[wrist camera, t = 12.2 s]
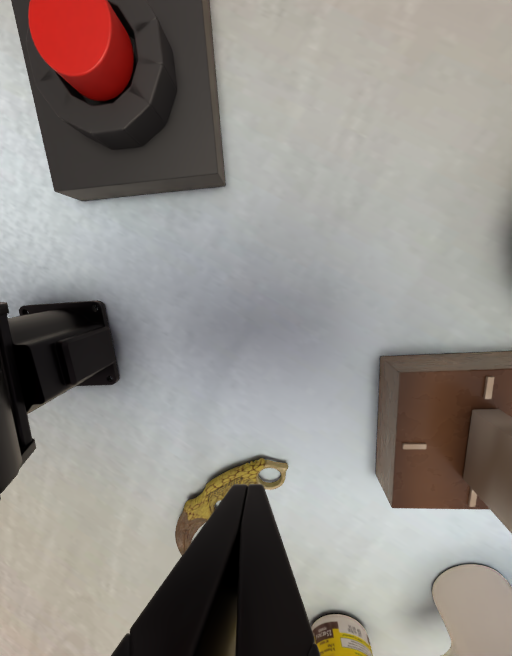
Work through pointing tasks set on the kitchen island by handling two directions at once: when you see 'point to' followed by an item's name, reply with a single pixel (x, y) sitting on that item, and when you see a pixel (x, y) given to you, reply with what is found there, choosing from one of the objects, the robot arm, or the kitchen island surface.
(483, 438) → the dial knob
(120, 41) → the button
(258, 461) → the knife
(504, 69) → the kitchen island surface
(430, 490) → the dial panel
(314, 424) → the kitchen island surface
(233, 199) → the kitchen island surface
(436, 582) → the mug
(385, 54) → the kitchen island surface
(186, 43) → the switch block
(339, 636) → the supplement bottle
